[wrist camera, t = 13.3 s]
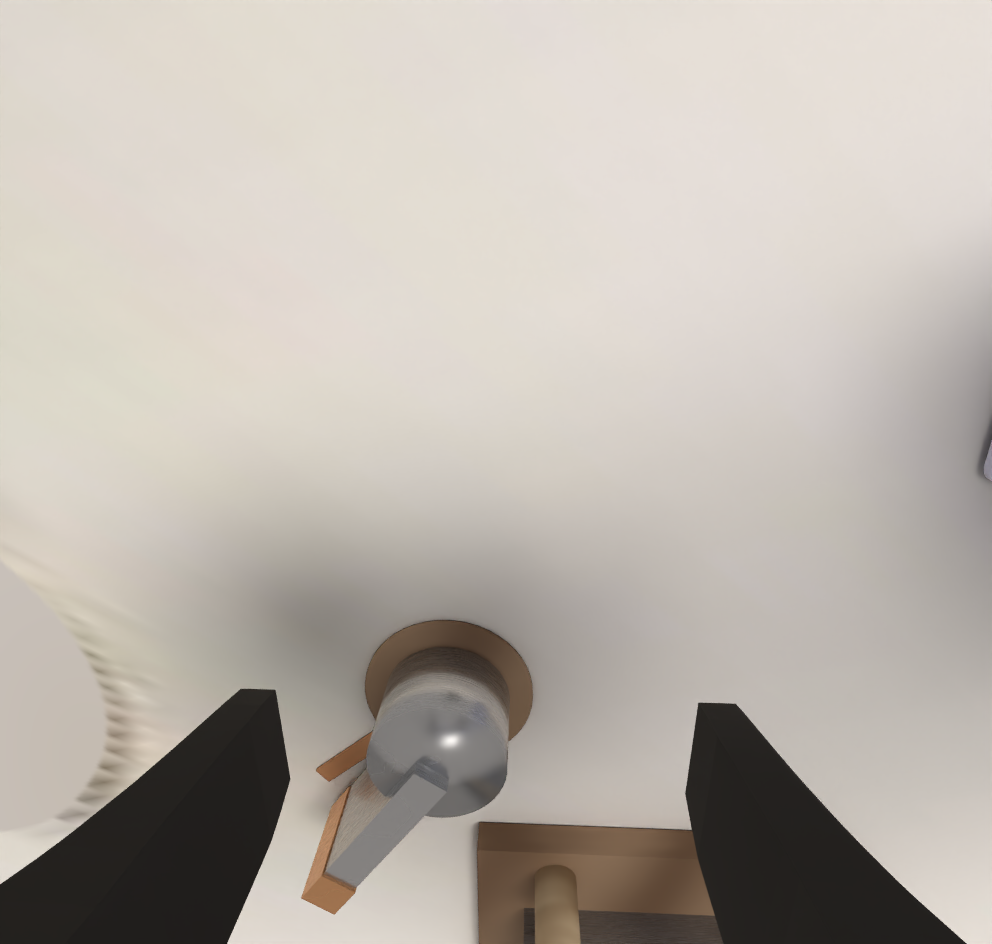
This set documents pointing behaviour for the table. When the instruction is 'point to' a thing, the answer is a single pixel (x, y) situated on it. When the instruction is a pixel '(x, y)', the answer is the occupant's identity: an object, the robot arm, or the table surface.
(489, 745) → the silver lever knob
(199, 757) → the robot arm
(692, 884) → the walnut board
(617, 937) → the steel bar
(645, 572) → the table surface
